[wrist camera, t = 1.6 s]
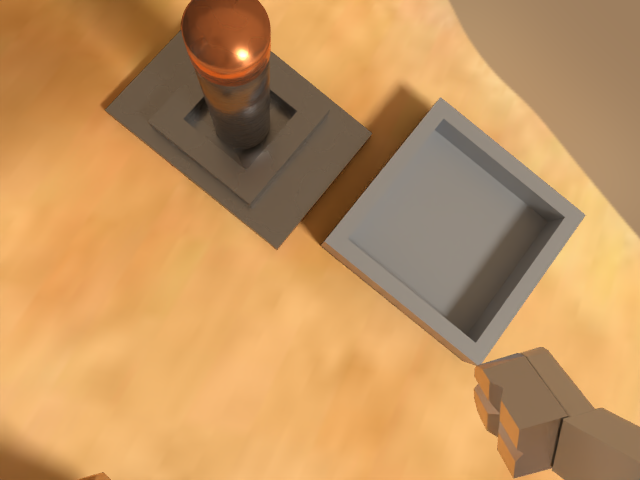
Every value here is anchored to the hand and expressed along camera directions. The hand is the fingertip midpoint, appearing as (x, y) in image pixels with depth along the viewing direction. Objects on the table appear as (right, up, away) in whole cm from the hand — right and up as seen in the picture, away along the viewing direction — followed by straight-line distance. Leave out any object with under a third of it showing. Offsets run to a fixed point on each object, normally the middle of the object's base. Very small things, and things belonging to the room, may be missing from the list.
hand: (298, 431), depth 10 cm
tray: (+9, +5, +22) cm, 24 cm away
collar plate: (-5, +12, +21) cm, 25 cm away
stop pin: (-5, +12, +21) cm, 24 cm away
